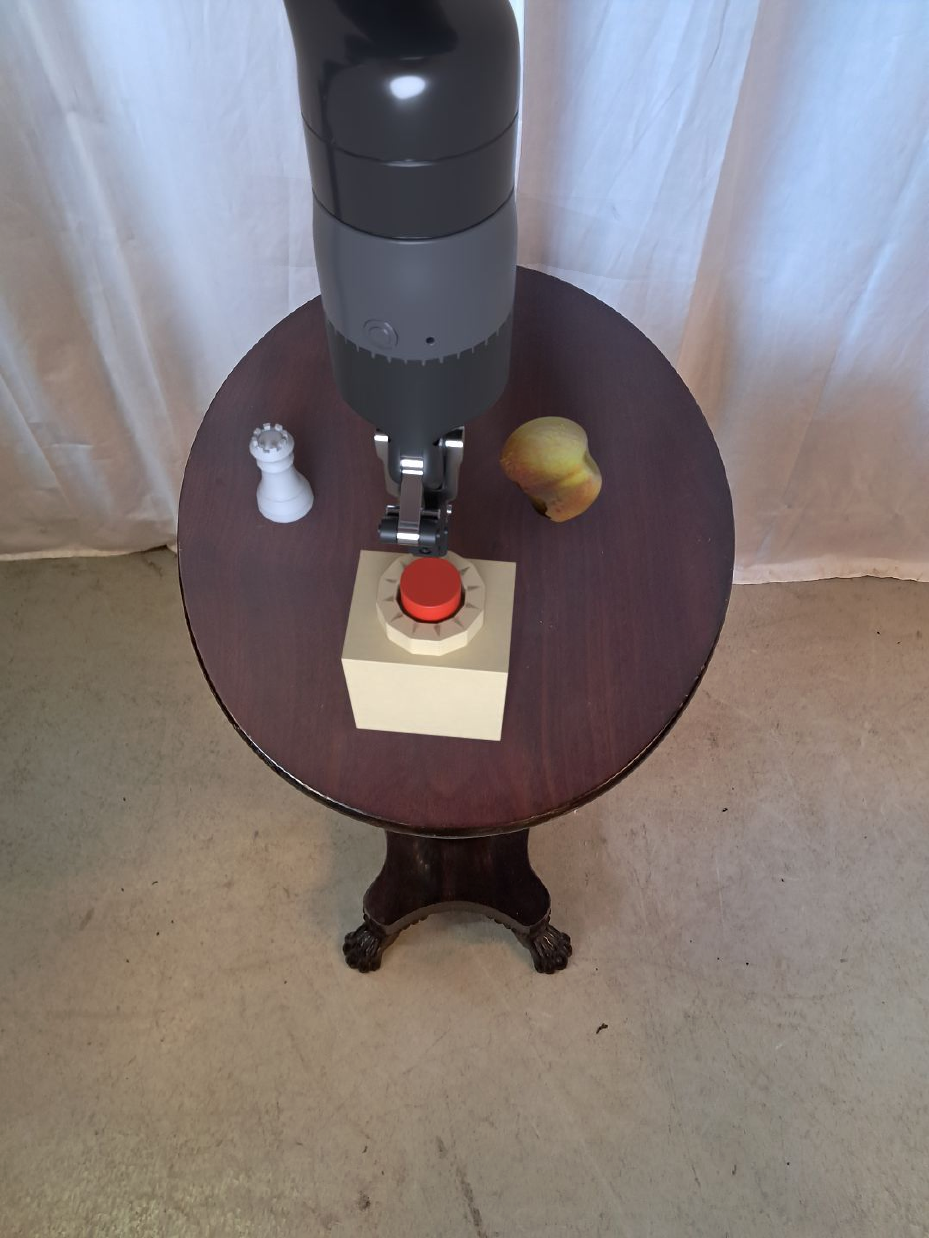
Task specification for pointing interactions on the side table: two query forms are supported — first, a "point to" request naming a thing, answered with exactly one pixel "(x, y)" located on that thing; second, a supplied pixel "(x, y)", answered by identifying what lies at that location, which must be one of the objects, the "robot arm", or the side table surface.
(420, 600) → the red push button
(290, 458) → the rook chess piece
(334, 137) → the robot arm
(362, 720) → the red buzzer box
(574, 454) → the fruit
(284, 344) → the side table surface
